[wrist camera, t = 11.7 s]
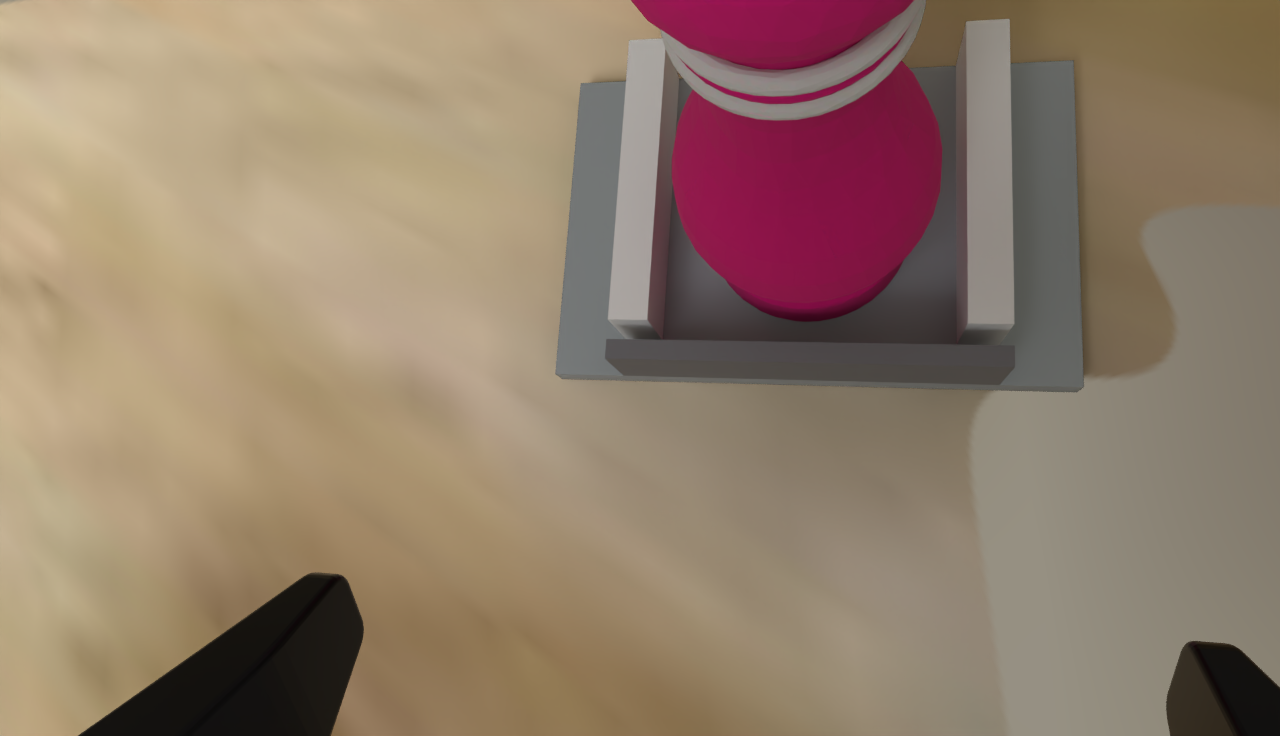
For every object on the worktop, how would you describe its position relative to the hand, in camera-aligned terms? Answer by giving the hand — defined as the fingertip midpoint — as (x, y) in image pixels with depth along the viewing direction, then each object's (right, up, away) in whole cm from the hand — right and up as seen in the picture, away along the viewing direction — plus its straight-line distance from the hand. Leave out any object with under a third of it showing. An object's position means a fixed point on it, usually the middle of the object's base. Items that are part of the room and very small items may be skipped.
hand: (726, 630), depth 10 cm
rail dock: (+5, +7, +20) cm, 22 cm away
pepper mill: (+5, +7, +19) cm, 21 cm away
